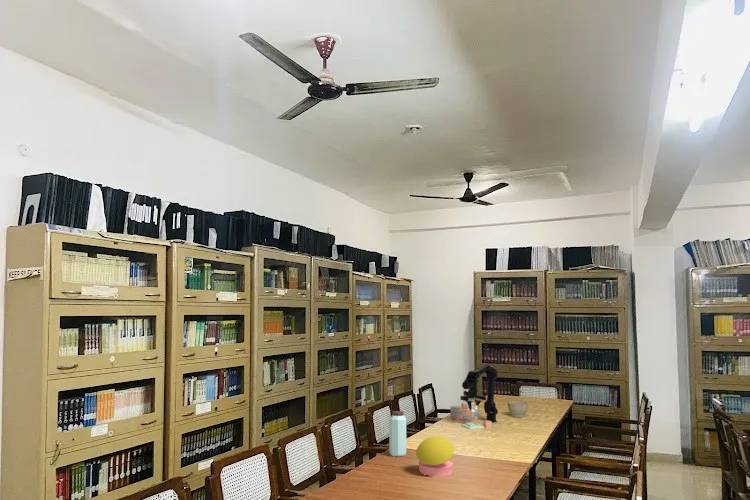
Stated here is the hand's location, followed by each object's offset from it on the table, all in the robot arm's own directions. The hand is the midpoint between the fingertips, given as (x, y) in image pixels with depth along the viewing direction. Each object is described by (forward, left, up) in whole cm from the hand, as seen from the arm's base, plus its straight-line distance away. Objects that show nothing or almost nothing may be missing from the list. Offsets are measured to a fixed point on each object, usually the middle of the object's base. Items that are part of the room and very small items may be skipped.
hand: (473, 409), depth 427 cm
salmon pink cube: (-8, +7, -12) cm, 16 cm away
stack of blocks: (-8, -27, -12) cm, 31 cm away
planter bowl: (-54, -22, -12) cm, 60 cm away
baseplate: (+2, +3, -12) cm, 12 cm away
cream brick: (0, 0, -1) cm, 1 cm away
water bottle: (+85, +60, -12) cm, 105 cm away
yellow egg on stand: (+80, +100, -12) cm, 128 cm away
